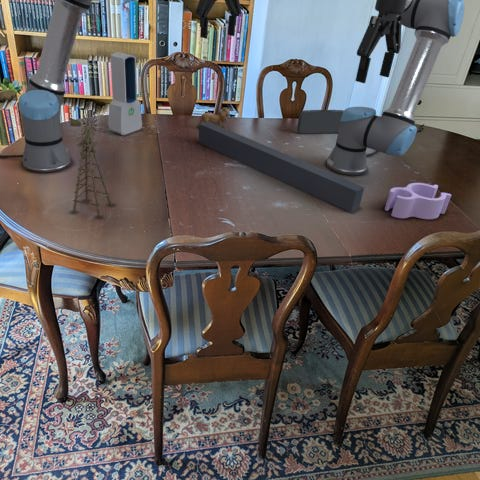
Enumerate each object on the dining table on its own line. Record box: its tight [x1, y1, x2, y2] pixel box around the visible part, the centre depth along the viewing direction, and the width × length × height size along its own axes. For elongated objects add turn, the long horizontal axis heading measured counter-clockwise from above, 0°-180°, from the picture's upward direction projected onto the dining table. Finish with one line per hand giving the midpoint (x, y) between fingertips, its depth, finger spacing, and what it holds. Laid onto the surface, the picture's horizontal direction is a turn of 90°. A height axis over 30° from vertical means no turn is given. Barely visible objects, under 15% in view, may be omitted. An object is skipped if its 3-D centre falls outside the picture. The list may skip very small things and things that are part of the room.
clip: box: [384, 182, 452, 220], centre depth 153 cm, size 20×12×7 cm, turn 109°
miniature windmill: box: [69, 107, 112, 218], centre depth 129 cm, size 9×8×30 cm
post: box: [197, 121, 365, 213], centre depth 169 cm, size 72×5×8 cm, turn 47°
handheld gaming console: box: [296, 109, 345, 134], centre depth 210 cm, size 23×3×10 cm, turn 108°
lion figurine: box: [196, 107, 231, 129], centre depth 201 cm, size 15×5×9 cm, turn 110°
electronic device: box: [107, 51, 143, 136], centre depth 184 cm, size 12×8×30 cm, turn 148°
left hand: (217, 36), depth 166 cm, fingers open, 13 cm apart
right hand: (372, 79), depth 132 cm, fingers open, 13 cm apart
